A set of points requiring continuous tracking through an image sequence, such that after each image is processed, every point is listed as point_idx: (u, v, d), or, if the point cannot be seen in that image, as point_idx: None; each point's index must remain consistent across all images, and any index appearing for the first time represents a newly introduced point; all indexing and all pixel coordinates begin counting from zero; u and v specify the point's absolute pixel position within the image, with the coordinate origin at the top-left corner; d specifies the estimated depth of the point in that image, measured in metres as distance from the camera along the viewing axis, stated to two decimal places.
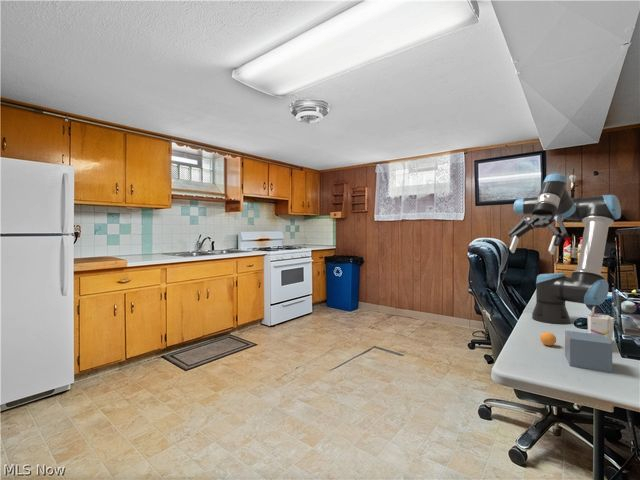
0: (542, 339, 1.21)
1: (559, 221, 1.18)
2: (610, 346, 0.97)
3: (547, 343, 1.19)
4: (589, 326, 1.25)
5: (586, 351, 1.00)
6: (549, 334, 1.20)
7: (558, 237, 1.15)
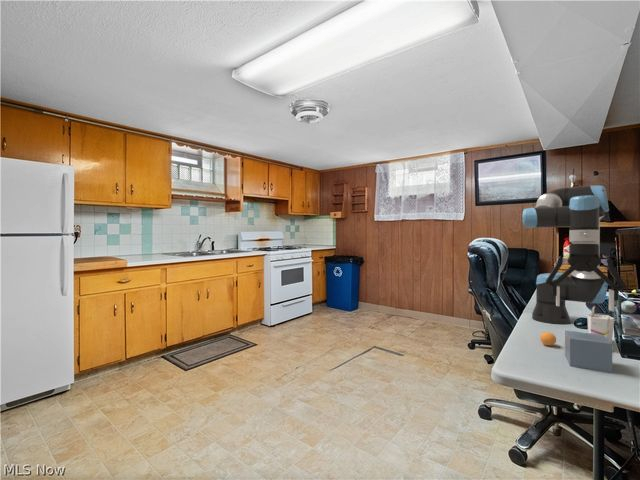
0: (542, 339, 1.21)
1: (612, 269, 0.99)
2: (610, 346, 0.97)
3: (547, 343, 1.19)
4: (589, 326, 1.25)
5: (586, 351, 1.00)
6: (549, 334, 1.20)
7: (616, 291, 0.99)
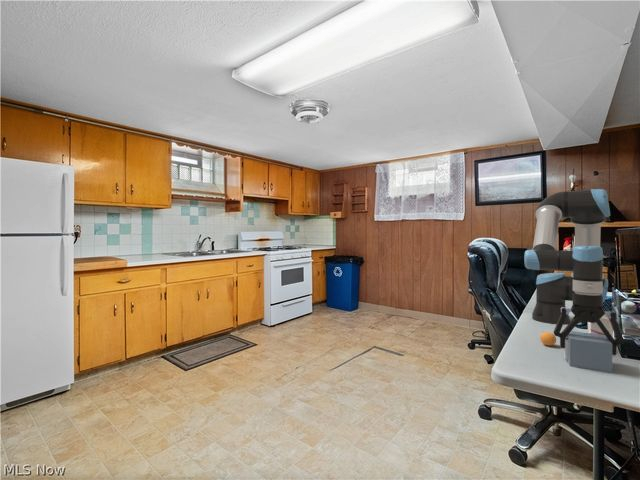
0: (542, 339, 1.21)
1: (614, 323, 0.99)
2: (610, 346, 0.97)
3: (547, 343, 1.19)
4: (589, 326, 1.25)
5: (586, 351, 1.00)
6: (549, 334, 1.20)
7: (614, 346, 0.99)
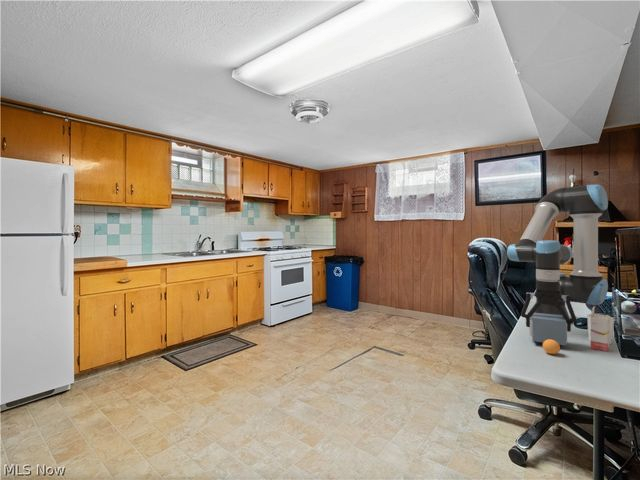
0: None
1: (569, 305, 1.18)
2: (564, 323, 1.16)
3: (549, 339, 1.13)
4: (589, 326, 1.25)
5: (545, 328, 1.19)
6: None
7: (569, 324, 1.19)
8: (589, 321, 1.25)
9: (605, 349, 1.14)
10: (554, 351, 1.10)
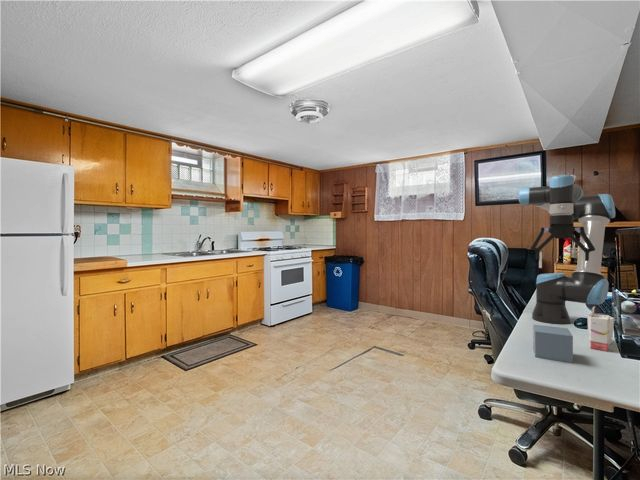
0: None
1: (584, 235, 1.21)
2: (571, 338, 1.04)
3: None
4: (589, 326, 1.25)
5: (549, 343, 1.07)
6: None
7: (587, 253, 1.21)
8: (589, 321, 1.25)
9: (605, 349, 1.14)
10: None
